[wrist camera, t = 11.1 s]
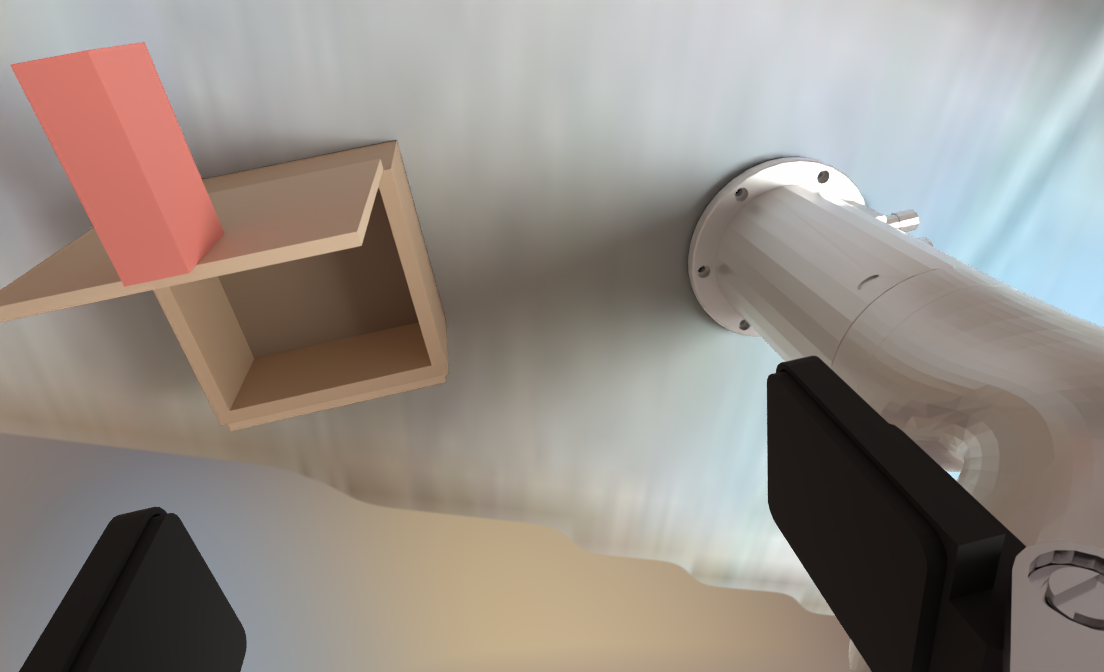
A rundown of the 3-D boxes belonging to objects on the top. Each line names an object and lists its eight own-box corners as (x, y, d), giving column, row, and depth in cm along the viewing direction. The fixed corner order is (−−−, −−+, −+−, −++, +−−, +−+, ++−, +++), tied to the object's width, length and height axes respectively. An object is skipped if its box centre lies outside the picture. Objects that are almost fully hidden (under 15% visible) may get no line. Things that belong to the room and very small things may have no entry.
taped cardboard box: (383, 168, 32) (337, 8, 29) (359, 252, 21) (282, 13, 18) (121, 222, 31) (43, 63, 28) (-40, 337, 21) (-197, 103, 17)
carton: (396, 140, 39) (390, 168, 32) (448, 328, 45) (451, 381, 38) (170, 186, 38) (120, 224, 32) (253, 371, 44) (224, 433, 38)
